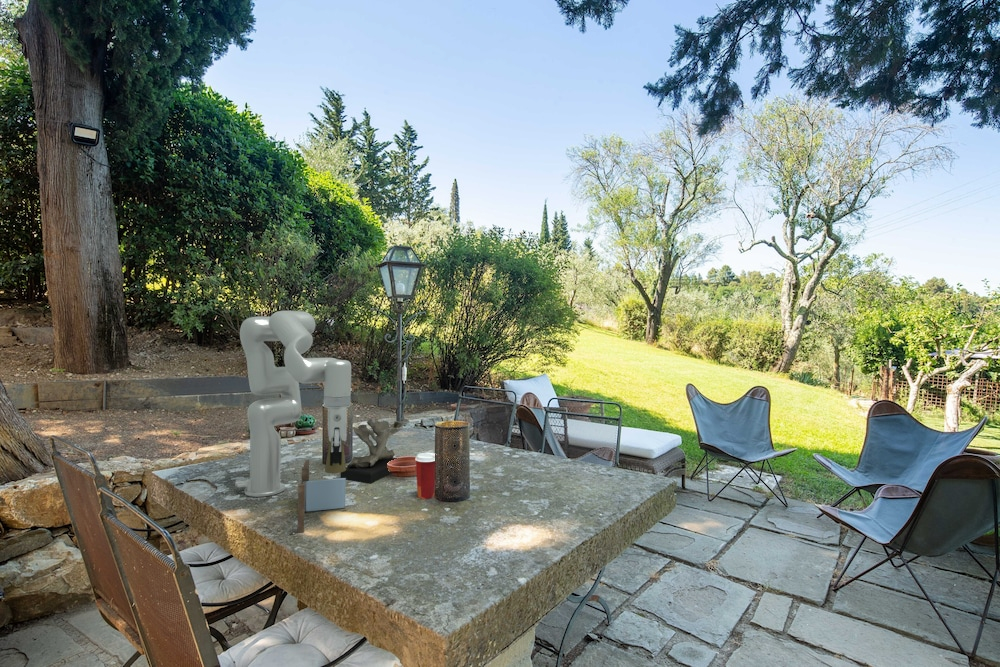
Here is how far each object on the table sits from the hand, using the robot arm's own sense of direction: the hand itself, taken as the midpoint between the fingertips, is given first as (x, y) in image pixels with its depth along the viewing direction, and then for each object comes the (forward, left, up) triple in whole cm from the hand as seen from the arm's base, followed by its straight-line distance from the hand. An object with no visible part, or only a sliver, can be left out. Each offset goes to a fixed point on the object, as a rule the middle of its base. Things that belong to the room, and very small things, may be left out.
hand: (335, 462), depth 142 cm
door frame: (-9, +6, -17) cm, 20 cm away
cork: (0, 0, -2) cm, 2 cm away
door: (-3, +7, -16) cm, 18 cm away
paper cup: (+29, +11, -17) cm, 36 cm away
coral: (+17, +41, -17) cm, 48 cm away
